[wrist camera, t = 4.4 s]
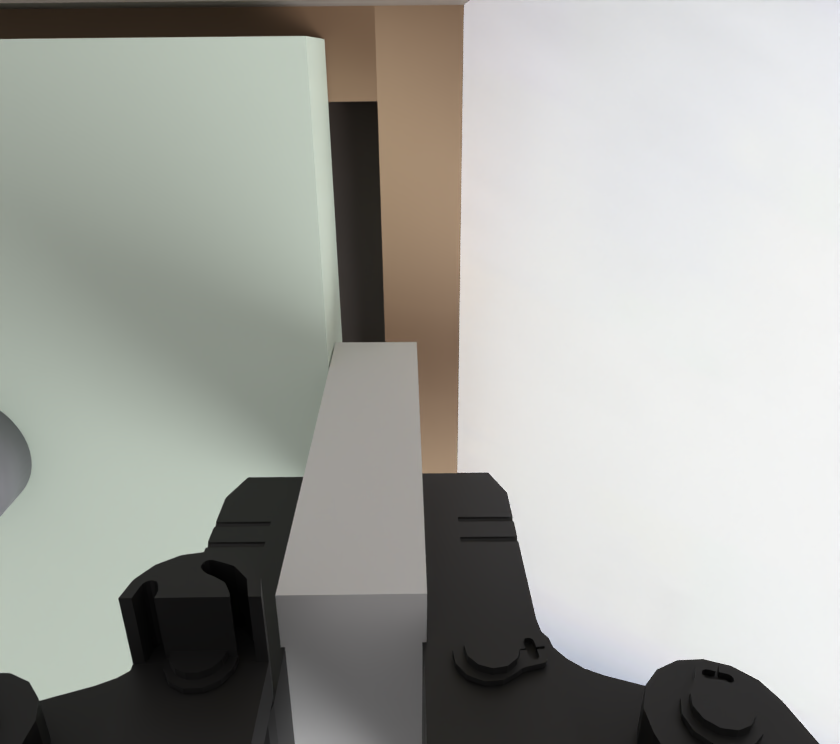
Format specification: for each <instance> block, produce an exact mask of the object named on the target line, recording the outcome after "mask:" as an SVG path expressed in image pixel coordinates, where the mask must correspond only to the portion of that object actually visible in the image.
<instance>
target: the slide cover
mask: <svg viewBox="0 0 840 744" xmlns="http://www.w3.org/2000/svg"><path fill="white" fill-rule="evenodd" d="M335 342H342V328H341V311H340V294H339V277H338V260H337V243H336V226H335V209H334V193H333V176H332V159H331V142H330V125H329V108H328V91H327V74H326V57H325V40H324V39H321V38H315V37H309V36H255V37H156V38H57V39H0V673H11V674H13V675H16V676H18V677H20V678H22V679H24V680H26V681H29V682H30V684H31V686H32V688H33V689H34V691H35V693H36V695H37V697H38V699H39V701H40V700H44V699H48V698H51V697H55V696H59V695H63V694H66V693H70V692H74V691H77V690H81V689H85V688H88V687H92V686H96V685H98V684H101V683H104V682H107V681H110V680H112V679H115V678H118V677H119V676H121V675H123V674H125V673H127V672H129V671H130V670H131V667H132V665H133V662H132V657H131V653H130V648H129V644H128V640H127V635H126V631H125V626H124V622H123V617H122V613H121V608H120V604H119V600H118V598H119V597H120V596H121V594H122V593H123V592H124V591H125V589H126V588H127V587H128V586H129V584H130V583H131V582H132V581H133V579H135V578H136V577H138V576H139V575H141V574H142V573H144V572H145V571H147V570H148V569H150V568H151V567H153V566H154V565H156V564H159V563H161V562H164V561H167V560H169V559H172V558H175V557H177V556H180V555H185V554H193V553H201V552H204V550H205V548H207V547H208V540H209V538H210V535H211V533H212V530H213V528H214V527H216V520H217V518H218V515H219V513H220V510H221V508H222V505H223V503H224V500H225V498H226V497H227V496H228V495H229V494H230V493H231V492H233V491H234V490H235V489H236V488H237V487H238V486H239V485H240V484H241V483H242V482H243V481H245V480H246V479H247V478H248V477H304V472H305V468H306V464H307V460H308V456H309V451H310V447H311V443H312V439H313V435H314V430H315V426H316V422H317V418H318V413H319V409H320V405H321V401H322V397H323V392H324V388H325V384H326V380H327V376H328V371H329V367H330V363H331V359H332V354H333V350H334V346H335Z"/></svg>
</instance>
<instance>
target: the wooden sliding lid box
mask: <svg viewBox="0 0 840 744" xmlns="http://www.w3.org/2000/svg"><path fill="white" fill-rule="evenodd" d="M468 1H469V0H0V39H57V38H156V37H255V36H309V37H315V38H321V39H324V40H325V57H326V74H327V91H328V108H329V125H330V142H331V159H332V176H333V193H334V209H335V226H336V243H337V260H338V277H339V294H340V311H341V328H342V342H417V360H418V384H419V408H420V433H421V457H422V473H457V440H458V369H459V298H460V228H461V157H462V86H463V15H464V4H465V3H467V2H468Z"/></svg>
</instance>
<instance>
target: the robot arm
mask: <svg viewBox="0 0 840 744" xmlns="http://www.w3.org/2000/svg"><path fill="white" fill-rule="evenodd" d="M118 600H119V604H120V608H121V613H122V617H123V622H124V626H125V631H126V635H127V640H128V644H129V648H130V653H131V657H132V662H133V665H132V667H131V670H130V671H129V672H127V673H125V674H123V675H121V676H119V677H118V678H115V679H112V680H110V681H107V682H104V683H101V684H98V685H96V686H92V687H88V688H85V689H81V690H77V691H74V692H70V693H66V694H63V695H59V696H55V697H51V698H48V699H44V700H40V701H39V699H38V697H37V695H36V693H35V691H34V689H33V688H32V686H31V684H30V682H29V681H26V680H24V679H22V678H20V677H18V676H16V675H13V674H11V673H0V744H819V743H818V742H817V741H816V740H815V738H814V737H813V736H812V735H811V734H810V733H809V731H808V730H807V729H806V728H805V727H804V726H803V725H802V723H801V722H800V721H799V720H798V719H797V718H796V717H795V715H794V714H793V713H792V712H791V711H790V710H789V708H788V707H787V706H786V705H785V704H784V703H783V702H782V701H781V700H780V699H779V698H778V697H777V696H776V695H775V694H774V693H772V692H771V691H770V690H769V689H768V688H767V687H766V686H764V685H763V684H762V683H761V682H760V681H759V680H757V679H755V678H753V677H751V676H749V675H747V674H745V673H743V672H742V671H740V670H738V669H736V668H734V667H732V666H729V665H725V664H720V663H716V662H712V661H708V660H704V659H698V660H677V661H675V662H673V663H671V664H668V665H666V666H664V667H662V668H660V669H657V670H656V672H655V673H654V675H653V676H652V677H651V679H650V680H649V681H648V683H647V684H646V686H643V685H639V684H635V683H631V682H627V681H623V680H619V679H616V678H612V677H608V676H604V675H601V674H598V673H595V672H593V671H590V670H587V669H584V668H582V667H580V666H579V665H577V664H575V663H573V662H572V661H570V660H568V659H566V658H565V657H564V656H563V655H562V654H560V653H559V652H558V651H557V650H556V649H554V648H553V646H552V644H551V642H550V640H549V638H548V637H547V636H545V635H544V634H543V633H542V632H541V630H540V628H539V625H538V623H537V620H536V617H535V613H534V608H533V604H532V600H531V595H530V591H529V587H528V582H527V578H526V574H525V569H524V565H523V561H522V556H521V552H520V548H519V543H518V542H517V535H516V530H515V526H514V522H513V521H512V513H511V509H510V504H509V500H508V496H507V492H506V491H505V490H504V489H503V488H502V487H501V486H500V485H499V484H498V483H497V482H496V481H495V480H494V479H493V477H492V476H491V475H490V474H489V473H422V457H421V433H420V408H419V384H418V360H417V342H335V346H334V350H333V354H332V359H331V363H330V367H329V371H328V376H327V380H326V384H325V388H324V392H323V397H322V401H321V405H320V409H319V413H318V418H317V422H316V426H315V430H314V435H313V439H312V443H311V447H310V451H309V456H308V460H307V464H306V468H305V472H304V477H248V478H247V479H246V480H245V481H243V482H242V483H241V484H240V485H239V486H238V487H237V488H236V489H235V490H234V491H233V492H231V493H230V494H229V495H228V496H227V497H226V498H225V500H224V503H223V505H222V508H221V510H220V513H219V515H218V518H217V520H216V527H214V528H213V530H212V533H211V535H210V538H209V540H208V547H207V548H205V550H204V552H201V553H193V554H185V555H180V556H177V557H175V558H172V559H169V560H167V561H164V562H161V563H159V564H156V565H154V566H153V567H151V568H150V569H148V570H147V571H145V572H144V573H142V574H141V575H139V576H138V577H136V578H135V579H133V581H132V582H131V583H130V584H129V586H128V587H127V588H126V589H125V591H124V592H123V593H122V594H121V596H120V597H119V598H118Z"/></svg>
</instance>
